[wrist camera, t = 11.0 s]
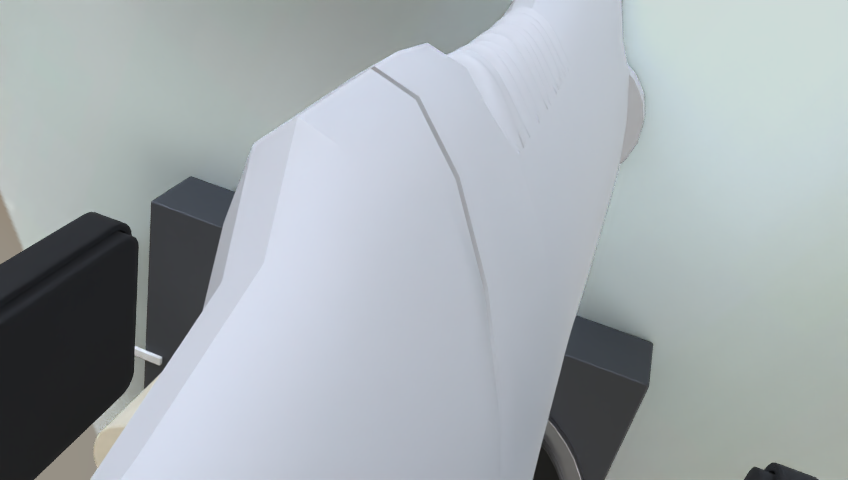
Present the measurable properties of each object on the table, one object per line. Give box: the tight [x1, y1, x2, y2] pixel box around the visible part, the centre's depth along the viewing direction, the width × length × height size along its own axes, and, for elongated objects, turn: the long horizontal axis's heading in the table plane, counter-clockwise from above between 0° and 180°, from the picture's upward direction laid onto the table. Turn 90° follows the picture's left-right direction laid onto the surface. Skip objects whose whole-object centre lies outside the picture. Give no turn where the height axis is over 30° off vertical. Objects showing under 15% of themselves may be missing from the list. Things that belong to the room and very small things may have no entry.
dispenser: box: [90, 0, 645, 480], centre depth 14 cm, size 11×4×22 cm, turn 1°
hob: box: [134, 177, 653, 480], centre depth 30 cm, size 19×14×3 cm
